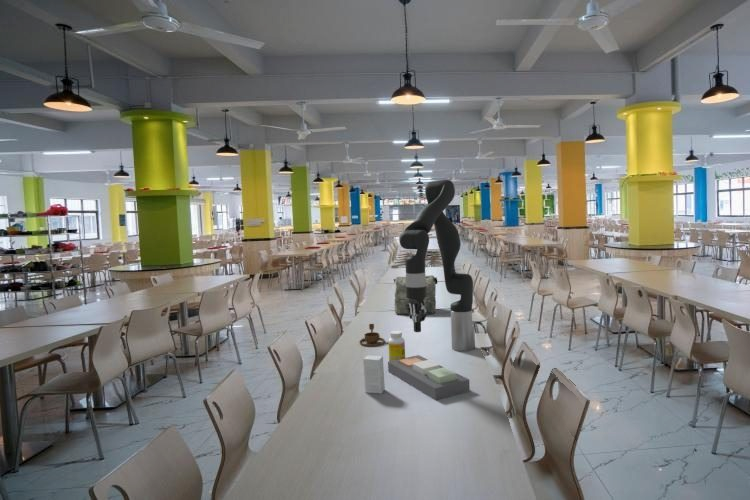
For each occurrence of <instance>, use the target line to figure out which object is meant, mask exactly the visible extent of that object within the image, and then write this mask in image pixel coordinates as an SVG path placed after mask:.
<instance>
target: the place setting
mask: <svg viewBox="0 0 750 500" xmlns="http://www.w3.org/2000/svg"><path fill="white" fill-rule="evenodd" d="M368 329H369V330H370V332H366V333H364V337H362V339H360V340H359V345H361V346H362V347H369V348H370V347H372V348H373V347H379V346H381V345H383V346H384V347H385V346H388V342H386V343H385V338H383V337H380V333H379V332H376V331H375V332H374V329H375V324H374V323H369V325H368ZM379 341H380V342H379ZM363 342H366V343H363Z"/></svg>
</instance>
